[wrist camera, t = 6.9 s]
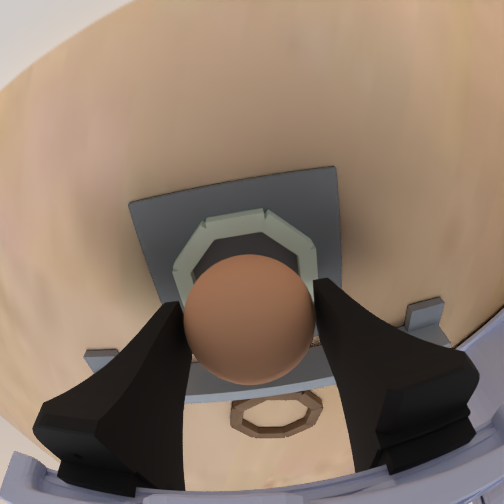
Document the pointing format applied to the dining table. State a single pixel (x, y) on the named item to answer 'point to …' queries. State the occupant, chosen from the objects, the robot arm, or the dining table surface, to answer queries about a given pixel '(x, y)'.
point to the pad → (242, 228)
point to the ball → (249, 319)
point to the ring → (276, 432)
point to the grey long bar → (299, 378)
